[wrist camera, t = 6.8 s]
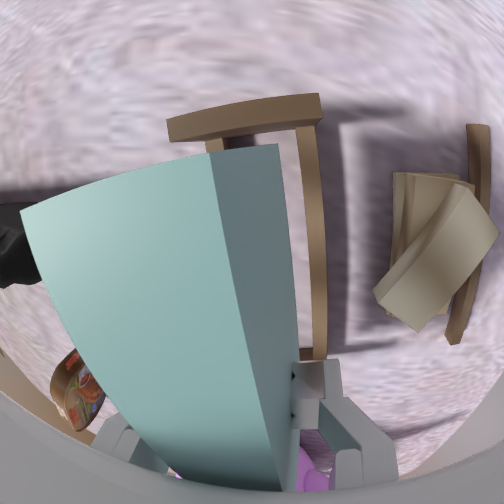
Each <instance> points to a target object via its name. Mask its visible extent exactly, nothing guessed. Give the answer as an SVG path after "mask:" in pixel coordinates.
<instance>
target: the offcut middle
mask: <svg viewBox="0 0 504 504" xmlns="http://www.w3.org/2000/svg"><path fill="white" fill-rule="evenodd" d="M455 183H456V184H459V185H461V186H464V187H467V188H469V190H470V191H471V192H472V194H473V195H474V192H475V185H473V184H470V183H467V182H464V181H459V180H454V179H448V178H441V177H435V176H428V175H420V174H412V173H406V180H405V194H404V205H403V214H402V223H401V230H400V237H399V244H398V250H397V256H396V262H397V261H398V260H399V258H400V257H401V256H402V255H403V254H404V252H405V251H406V250H407V249H408V247H409V246H410V245H411V244H412V242H413V241H414V240H415V239H416V237H417V236H418V235H419V233H420V232H421V231H422V229H423V228H424V227H425V225H426V224H427V223H428V221H429V220H430V219H431V217H432V216H433V215H434V213H435V212H436V210H437V209H438V208H439V206H440V205H441V203H442V202H443V200H444V199H445V198H446V196H447V195H448V193H449V192H450V190H451V189H452V187H453V185H454V184H455ZM396 262H395V263H396ZM450 301H451V299H450V300H449V301H448V302H447V303H446V304H445V305H444V307H443V308H442V309H441V310H440V311H439V312H438V313H437V314H436V315H446V313H447V310H448V307H449V304H450ZM389 313H390V315H391V317H392V318H397V317H396V316H395V315H393V314H392V313H391V312H389ZM436 315H435V316H436Z"/></svg>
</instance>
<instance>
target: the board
mask: <svg viewBox="0 0 504 504" xmlns="http://www.w3.org/2000/svg"><path fill="white" fill-rule="evenodd" d="M20 214H21V218H22V221H23V225H24V229H25V232H26V235H27V239H28V242H29V245H30V248H31V251H32V254H33V257H34V259H35V262H36V265H37V268H38V270H39V273H40V275H41V278H42V280H43V283H44V285H45V288H46V290H47V292H48V294H49V297H50V299H51V301H52V303H53V305H54V308H55V310H56V312H57V314H58V316H59V318H60V320H61V322H62V324H63V326H64V328H65V329H66V331H67V333H68V335H69V337H70V339H71V340H72V342H73V344H74V346H75V347H76V349H77V351H78V353H79V354H80V356H81V358H82V359H83V361H84V362H85V364H86V366H87V367H88V369H89V370H90V372H91V373H92V375H93V376H94V378H95V379H96V381H97V382H98V384H99V385H100V387H101V388H102V389H103V391H104V392H105V394H106V395H107V396H108V398H109V399H110V400H111V402H112V403H113V404H114V406H115V407H116V408H117V409H118V411H119V412H120V413H121V415H122V416H123V417H124V418H125V419H126V421H127V422H128V423H129V424H130V425H131V427H132V428H133V429H134V430H135V431H136V432H137V434H138V435H139V436H140V437H141V438H142V439H143V440H144V441H145V442H146V443H147V445H148V446H149V447H150V448H151V449H152V450H153V451H154V452H155V453H156V454H157V455H158V456H159V457H160V458H161V459H162V460H163V461H164V462H165V463H166V464H167V465H168V466H169V467H170V468H171V469H172V470H174V471H175V472H176V473H177V474H178V475H179V476H180V477H181V478H182V479H186V480H190V481H195V482H199V483H205V484H210V485H216V486H222V487H229V488H237V489H246V490H257V491H275V492H295V491H296V481H297V470H298V457H299V443H300V429H292V421H291V418H292V413H291V410H290V387H291V381H292V362H293V361H300V357H299V341H298V326H297V313H296V300H295V288H294V277H293V266H292V256H291V246H290V236H289V227H288V218H287V210H286V201H285V193H284V185H283V177H282V170H281V163H280V155H279V148H278V144H268V145H259V146H251V147H243V148H236V149H229V150H222V151H216V152H210V153H204V154H199V155H194V156H190V157H185V158H180V159H176V160H172V161H167V162H163V163H159V164H155V165H151V166H147V167H144V168H140V169H136V170H133V171H129V172H126V173H122V174H119V175H115V176H112V177H109V178H106V179H102V180H99V181H96V182H93V183H90V184H87V185H84V186H81V187H79V188H76V189H73V190H70V191H67V192H65V193H62V194H59V195H57V196H54V197H52V198H49V199H47V200H44V201H42V202H39V203H37V204H35V205H32V206H30V207H28V208H25V209H23V210H21V211H20Z"/></svg>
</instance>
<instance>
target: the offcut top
mask: <svg viewBox="0 0 504 504" xmlns="http://www.w3.org/2000/svg"><path fill="white" fill-rule="evenodd" d="M499 234H500V233H499V231H498V230H497V228H496V227H495V225H494V223H493V222H492V220H491V219H490V217H489V216H488V214H487V213H486V212H485V210H484V209H483V207H482V206H481V204H480V203H479V202H478V200H477V199H476V198H475V196H474V195H473V194H472V192H471V191H470V190H469V188H467V187H464V186H461V185H459V184H456V183H455V184H454V185H453V187H452V189H451V190H450V192H449V193H448V195H447V196H446V198H445V199H444V200H443V202H442V203H441V205H440V206H439V208H438V209H437V210H436V212H435V213H434V215H433V216H432V217H431V219H430V220H429V221H428V223H427V224H426V225H425V227H424V228H423V229H422V231H421V232H420V233H419V235H418V236H417V237H416V239H415V240H414V241H413V242H412V244H411V245H410V246H409V247H408V249H407V250H406V251H405V252H404V254H403V255H402V256H401V257H400V258H399V260H398V261H397V262H396V263H395V264H394V266H393V267H392V268H391V269H390V270H389V271H388V273H387V274H386V275H385V276H384V277H383V278H382V279H381V280H380V282H379V283H378V284H377V285H376V286H375V287H374V288H373V289H372V291H373V293H374V296H375V298H376V300H377V302H378V304H380V305H381V306H382V307H384V308H385V309H386V310H388V311H389V312H391V313H392V314H393V315H395V316H396V317H397V318H399V319H400V320H401V321H403V322H404V323H406V324H407V325H408V326H410V327H411V328H412V329H414V330H415V331H416V332H419V331H420V330H421V329H422V328H423V327H424V326H425V325H426V324H427V323H428V322H429V321H430V320H431V319H432V318H433V317H434V316H435V315H436V314H437V313H438V312H439V311H440V310H441V309H442V308H443V307H444V305H445V304H446V303H447V302H448V301H449V300H450V299H451V298H452V296H453V295H454V294H455V293H456V292H457V291H458V289H459V288H460V287H461V286H462V285H463V283H464V282H465V281H466V280H467V278H468V277H469V276H470V275H471V273H472V272H473V271H474V269H475V268H476V267H477V265H478V264H479V263H480V261H481V260H482V259H483V257H484V256H485V255H486V253H487V252H488V250H489V249H490V247H491V246H492V244H493V243H494V241H495V240H496V238H497V237H498V235H499Z"/></svg>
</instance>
